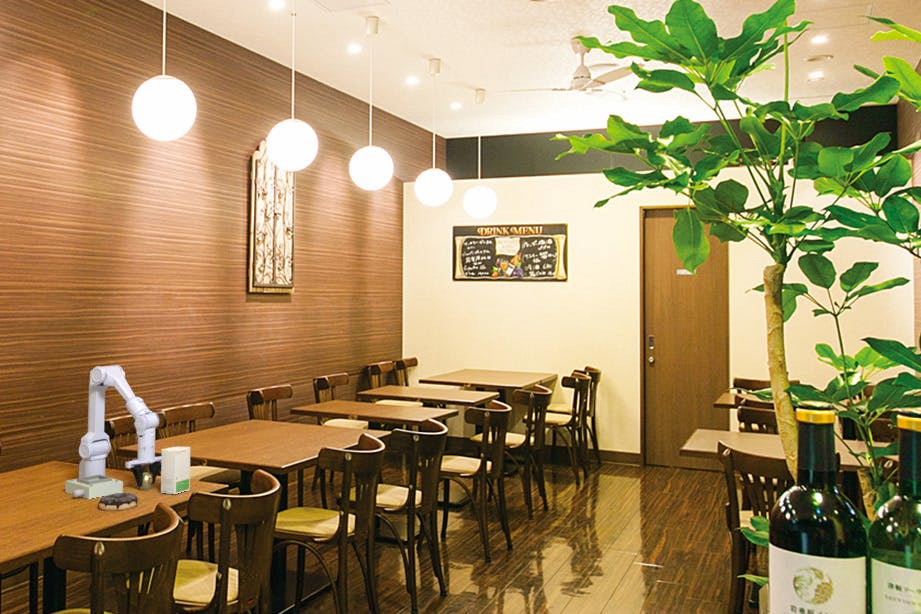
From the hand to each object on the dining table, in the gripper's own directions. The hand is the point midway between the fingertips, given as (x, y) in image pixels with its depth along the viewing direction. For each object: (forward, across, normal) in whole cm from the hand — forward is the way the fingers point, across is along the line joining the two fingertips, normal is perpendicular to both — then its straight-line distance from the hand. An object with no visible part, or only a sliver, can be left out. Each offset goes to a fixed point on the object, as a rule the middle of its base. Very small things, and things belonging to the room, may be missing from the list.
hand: (145, 484), depth 263 cm
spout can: (+1, 0, 0) cm, 1 cm away
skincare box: (+2, +4, -12) cm, 13 cm away
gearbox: (+1, -16, +9) cm, 18 cm away
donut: (+2, -19, -16) cm, 25 cm away
